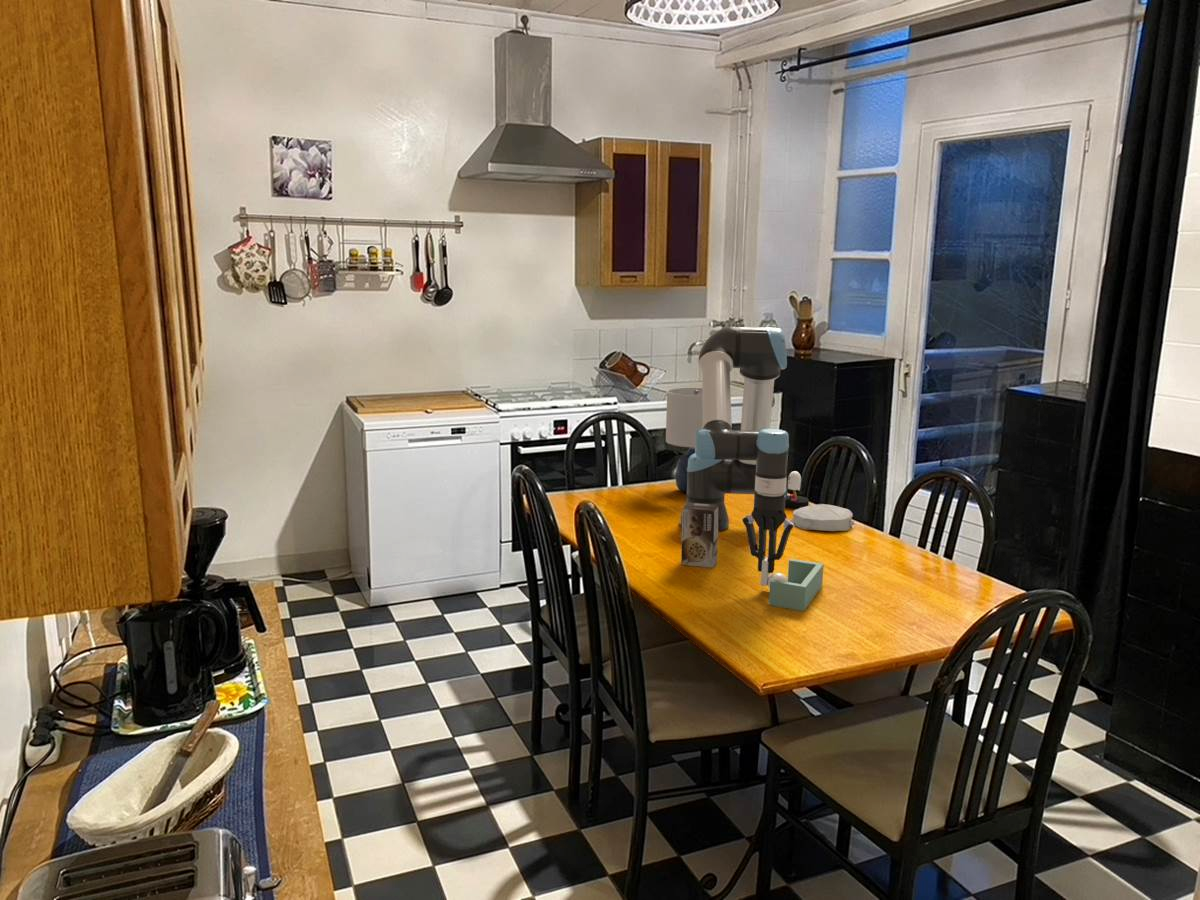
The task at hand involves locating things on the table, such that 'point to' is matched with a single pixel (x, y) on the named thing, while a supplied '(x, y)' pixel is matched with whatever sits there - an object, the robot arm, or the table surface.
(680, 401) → the lamp
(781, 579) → the ball
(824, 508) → the food container
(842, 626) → the table surface
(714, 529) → the coffee box
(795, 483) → the figurine
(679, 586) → the table surface
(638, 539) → the table surface
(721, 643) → the table surface
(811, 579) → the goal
